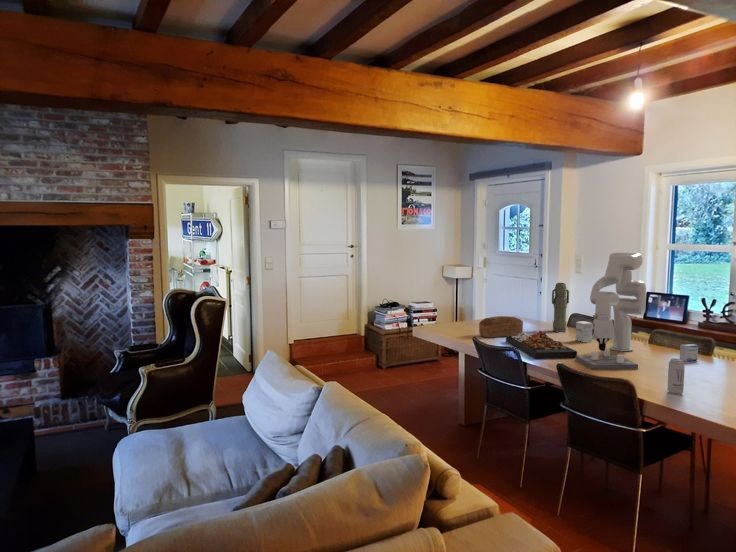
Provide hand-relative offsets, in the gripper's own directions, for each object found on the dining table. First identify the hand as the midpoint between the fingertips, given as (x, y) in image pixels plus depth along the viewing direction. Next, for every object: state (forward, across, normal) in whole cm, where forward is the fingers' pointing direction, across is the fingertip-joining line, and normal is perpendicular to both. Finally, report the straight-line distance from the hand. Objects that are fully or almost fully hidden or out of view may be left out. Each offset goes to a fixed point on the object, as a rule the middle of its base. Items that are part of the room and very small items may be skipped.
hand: (602, 350), depth 272 cm
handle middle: (+5, -4, -1) cm, 6 cm away
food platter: (+9, -21, +36) cm, 42 cm away
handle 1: (+5, +6, +6) cm, 10 cm away
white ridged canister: (+10, +17, +56) cm, 59 cm away
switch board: (+8, +2, -1) cm, 8 cm away
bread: (+9, -32, +77) cm, 84 cm away
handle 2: (+5, +6, -8) cm, 11 cm away
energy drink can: (+7, +8, -50) cm, 51 cm away
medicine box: (+9, +52, +5) cm, 53 cm away
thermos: (+10, +15, +89) cm, 91 cm away
